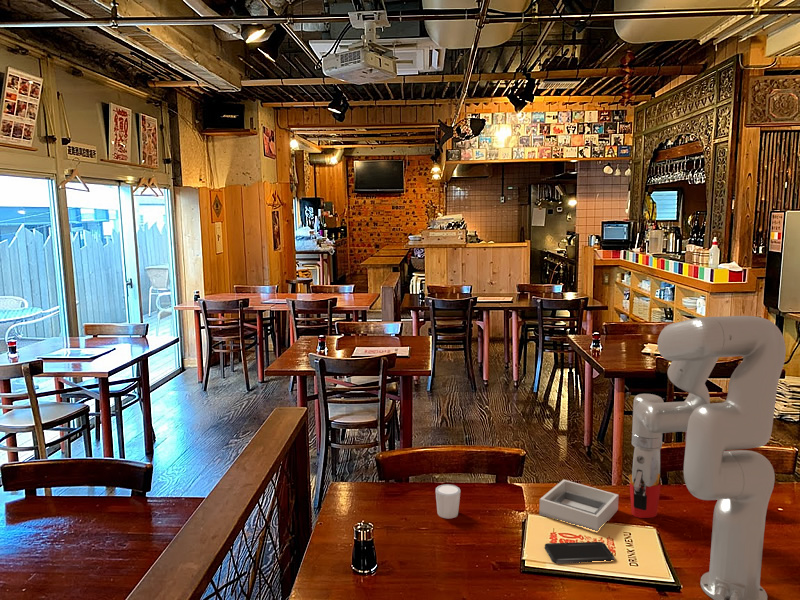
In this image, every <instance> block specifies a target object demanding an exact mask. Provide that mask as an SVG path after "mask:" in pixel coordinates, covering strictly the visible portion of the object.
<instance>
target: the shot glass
mask: <svg viewBox="0 0 800 600" xmlns="http://www.w3.org/2000/svg"><path fill="white" fill-rule="evenodd" d="M460 497H461V489H460V487H458V486H457V485H455V484H449V483H448V484H447V483H446V484H441V485H438V486H437V487H435V500H436V511H437V512H436V513H437V515H438V516H439V517H440V518H443V519H449V520H450V519H453V518H457V517H458V515H459V508H460V507H459V506H460V500H461V498H460Z"/></svg>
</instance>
